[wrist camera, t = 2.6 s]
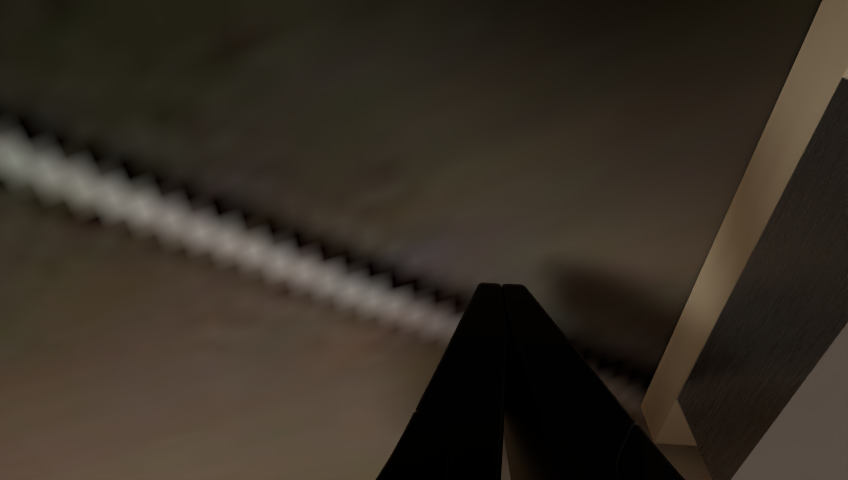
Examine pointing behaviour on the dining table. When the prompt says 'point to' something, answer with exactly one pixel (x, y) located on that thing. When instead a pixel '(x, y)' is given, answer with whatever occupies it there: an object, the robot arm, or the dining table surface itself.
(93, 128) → the dining table surface
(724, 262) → the board
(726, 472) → the grey rectangular box
